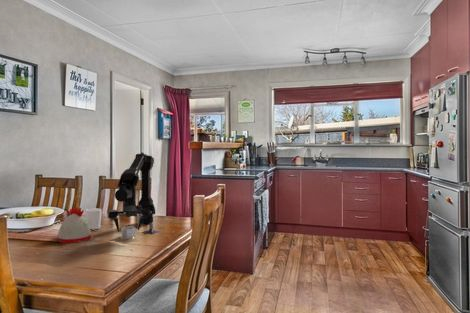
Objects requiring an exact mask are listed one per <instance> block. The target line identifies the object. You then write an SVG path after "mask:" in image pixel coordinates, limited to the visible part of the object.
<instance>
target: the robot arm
mask: <svg viewBox="0 0 470 313" xmlns="http://www.w3.org/2000/svg"><path fill="white" fill-rule="evenodd" d="M132 161H133V162H132V163H130V164H131V165H130V166H129V168H127V169H125V170H124V171H123V172H122V174H120V178H119V181H118V185H117V187H118V188H119V189H117V190H115V193H114V198H115V200H117V202H119V203H122V211H120V210H119V211H118V210H117V209H109V210H107V212H106V217H107V218H108V219H110V220H111V221H113V222H114V225H115V227H116V231H117V232H118V233H119V232H120V227H119V217H118V216H126V217H127V218H130V217H137V230H138V231H139V230H140V228H141V226H142V225H149V223H153V224H154V215H156V207H155V204H154V200H153V198H152V197H151V170H152V169H153V167H154V164H155V159H154V157H153V156H152V155H148V154H146V153H136V154H135V156H134V160H132ZM140 171H141V176H140V175H139V173H140ZM140 177H141V198H140V199H139V201H138V202H136V198H137V197H136V195H137V193H136V191H137V190H136V189H137V186H138V183H139V180H140ZM137 203H138V204H137Z"/></svg>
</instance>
